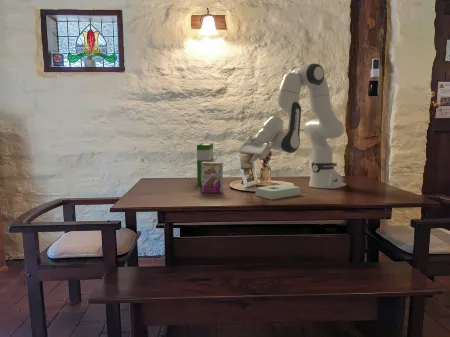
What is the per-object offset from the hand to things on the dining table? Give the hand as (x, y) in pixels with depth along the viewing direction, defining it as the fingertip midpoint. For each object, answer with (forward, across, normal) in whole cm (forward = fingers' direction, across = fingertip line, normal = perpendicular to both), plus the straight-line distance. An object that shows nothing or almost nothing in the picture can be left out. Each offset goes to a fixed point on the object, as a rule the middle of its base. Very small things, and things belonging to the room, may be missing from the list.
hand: (245, 162), depth 192 cm
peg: (+4, 0, -5) cm, 6 cm away
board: (+2, -6, -24) cm, 25 cm away
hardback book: (+11, +48, -15) cm, 51 cm away
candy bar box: (+19, +18, -6) cm, 27 cm away
